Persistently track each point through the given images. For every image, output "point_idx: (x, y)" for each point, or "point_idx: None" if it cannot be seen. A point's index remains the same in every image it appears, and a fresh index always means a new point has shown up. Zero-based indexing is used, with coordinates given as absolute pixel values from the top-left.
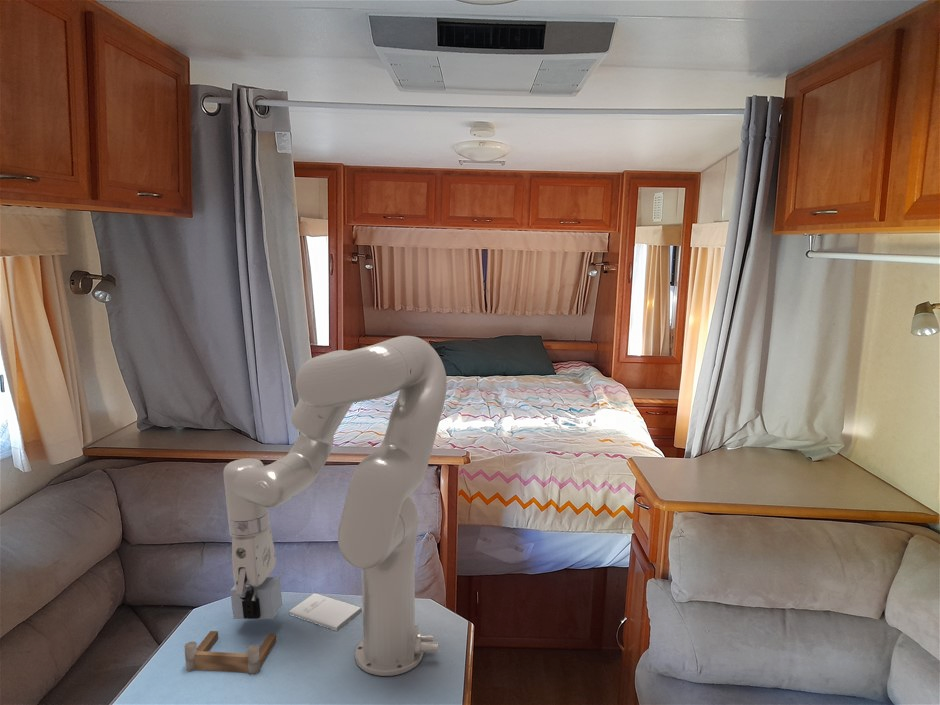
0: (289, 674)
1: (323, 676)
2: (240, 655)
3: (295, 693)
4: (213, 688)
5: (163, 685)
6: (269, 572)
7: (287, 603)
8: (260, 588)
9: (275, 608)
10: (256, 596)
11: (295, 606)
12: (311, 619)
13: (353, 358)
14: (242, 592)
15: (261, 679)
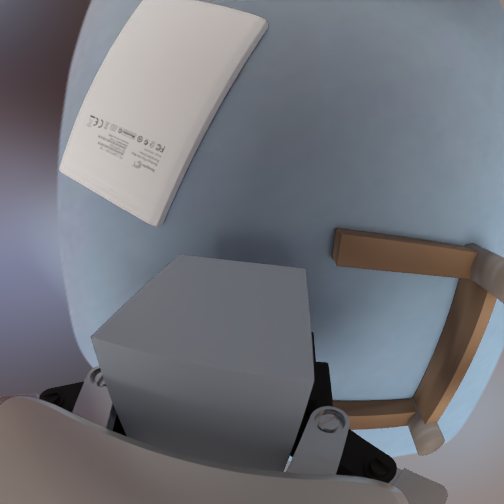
0: (486, 153)
1: (481, 64)
2: (485, 316)
3: None
4: (493, 332)
5: (447, 418)
6: (133, 457)
7: (103, 249)
8: (274, 437)
9: (263, 277)
10: (314, 419)
11: (128, 210)
12: (205, 121)
13: None
14: (441, 499)
15: (497, 229)
